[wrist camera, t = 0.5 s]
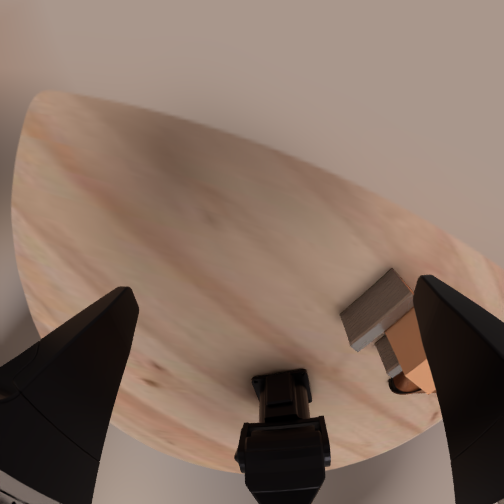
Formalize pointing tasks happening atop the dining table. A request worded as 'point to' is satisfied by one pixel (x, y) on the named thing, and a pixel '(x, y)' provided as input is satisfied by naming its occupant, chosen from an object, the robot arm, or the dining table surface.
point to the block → (411, 350)
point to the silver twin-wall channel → (378, 317)
